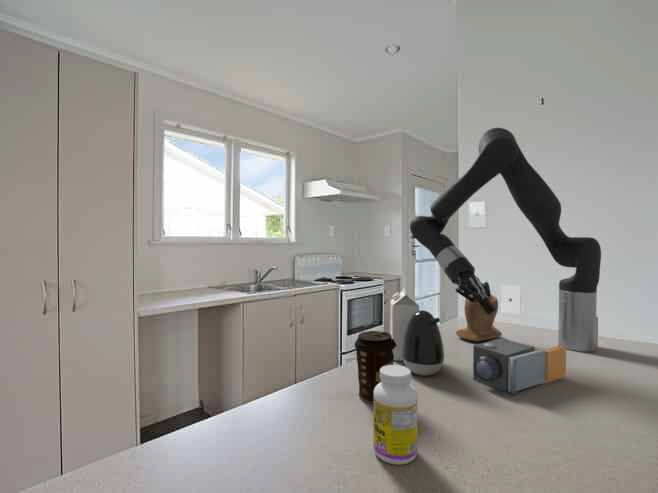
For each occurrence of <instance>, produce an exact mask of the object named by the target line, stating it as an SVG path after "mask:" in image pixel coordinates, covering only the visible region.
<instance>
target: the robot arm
mask: <svg viewBox="0 0 658 493" xmlns="http://www.w3.org/2000/svg"><path fill="white" fill-rule="evenodd" d="M499 174H500V176H502V178H503V181H504V182H505V184H506V187H507V189H508V190H509V192H510V195H511V197H512V198H513V201H514V202H515V204H516V206H517V207H518V208H519V210H520V211H521V213H522V214H523V215H524V216H525V218H526V219H527V220H528V221H529V223H530V224H531V225H532V226H533V228H534V229H535V231H536V232H537V234H538V235H539V236H540V239H541V240H542V241H543V243H544V245H545V247H546V248H547V250H548V252H549V254H550V255H551V257H552V258H553V260H554V261H555V262H556V263H557V264H558V265H560V266H561V267H564V268H573V269H574V268H575V273H574V275H572V276H570V277H568V278H564V279H561V280H559V283H558V333H557V334H558V335H557V338H558V340H557V341H558V342H557V344H558V346H562V347H566V350H569V351H570V350H572V351H575V352H583V353H584V352H587V353H590V352H591V353H592V352H595V351H596V349H597V350H598V348H599V347H598V346H599V344H598V343H599V342H598V341H599V317H598V316H597V296H598V295H597V292H598V285H599V282H600V275H601V274H600V272H601V261H602V249H601V245H600V242H599V241H598V240H597V239H596V238H594V237H589V236H587V237H585V236H582V237H581V236H577V237H571V236H568V235H567V234H566V233H565V232H564V231H563V229H562V228H561V226H560V219H561V217H562V216H561V215H562V204H561V202H560V200H559V198H558V197H557V195H556V194H555V192H553V190H552V188H551V187H550V186H549V185H548V184H547V183H546V182H547V181H545V180H544V179H543V178H542V176H541V175H540V174H539V173H538V171H537V170H536V169H534V167H532V165H531V164H530V163H529V162H528V160H527V159H526V156H525V155H524V153H523V151H522V150H521V148H520V146H519V144H518V142H517V140H516V137H515V136H514V134H513V133H512V132H511V131H509V130H508V129H506V128H502V127H493V128H490V129H488V130H486V131H485V132H484V133H483V134H482V136H481V137H480V140H479V143H478V156H477V158H476V160H474V161H473V164H472V165H471V166H470V168H469V169H468V170H467V171H466V172H465V173H464V174H462V176H461V177H460V178H458V179H456V180H455V181H453V183H450V185H448V186H447V187H446V188H445V189H444V190H443V191H442V192H441V193H440V194H439V195H438V197H437V198H435V200H434V201H433V202H432V203H431V205H430V212H431V215H430V216H426V215H418V216H415V217H413V218H412V219H411V220H410V223H409V231H410V233H411V235H412V236H413V238H414V239H416V240H417V241H418V243H420V244H421V245H422V246H424V247H425V248H426V249H427V250H429V252H430V253H431V255H432V257H434V259H435V260H436V261H437V263H438V266H439V267H440V268H441V270H442V271H443V272H444V274H445V275H446V276H447V277H448V279H449V280H450V281H451V283H452V284H454V285H457V287H456V288H455V292H456V293H458V294H459V295H460V296H462V297H464V298H465V300H466V299H468V300H469V301H471V302H472V303H474V302H476V303H477V304H480V305H481V307H482V308H483V309H484V311H485V312H486V313H487V314H488V315H489V314H493V313H494V312H495V311H496V308H495V307H494V306H493V305H492V303H491V302H490V301H489V299H488V298H489V297H490V296H491V295H492V293H491V288H490V284H489V282H487V281H485V282H482V281H481V280H480V278H479V277H477V276H476V274H475V271H476V268H475V267H474V266H473V265H472V263H471V262H470V260H469V259H468V258H467V257H466V256H465V254H464V253H463V252H462V251H461V250H460V249H459V248H458V247H457V246H456V244H455V243H454V242H453V241H452V240H451V239H450V238H449V237H448V236H447V235H446V234H443V233H442V232H443V231H444V229H445V227H446V225H447V224H448V222H449V220H450V218H451V217H452V216H453V215H454V214H455V213H456V212H457V211H458V210H459V209H460V208H462V206H463V205H464V204H465V203H466V202H467V201H469V199H470V198H471V197H473V195H474V194H476V193H477V192H478V191H479V190H480V189H482V188H483V187H484V186H485V185H487V183H489V182H490V181H492V179H495V178H496V177H497V176H498V175H499Z"/></svg>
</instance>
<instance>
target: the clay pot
mask: <svg viewBox="0 0 658 493" xmlns="http://www.w3.org/2000/svg"><path fill="white" fill-rule="evenodd" d="M488 299H489V301H490V302H491V303H492V305H493V306H494V307H495V308H496V311H495V312H494V313H493V314H489V315H488V314H487V313H486V312H485V311H484V309H483V308H482V307H481V305H480V304H477V303H476V302H474V303H472V302H471V301H469V300H468V299H466V298H465V300H464V310H463V311H464V316H465V319H466V327H465V328H462V329H459V330H456V331H455V335H456V336H457V337H459V338H461V339H464V340H468V341H471V342H481V341H482V342H483V341H487V340H491V339H496V338H498V337H502V336H503V333H502V331H500V330H499V329H498V328H497V327H495V326H494V322H495V319H496V316H497V313H498V311H499V300H498V298H497V297H496V296H494V295H492V294H491V296H490V297H489V298H488Z"/></svg>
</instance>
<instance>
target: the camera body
mask: <svg viewBox="0 0 658 493" xmlns="http://www.w3.org/2000/svg"><path fill="white" fill-rule="evenodd" d="M533 351H535V346H533V345H529V344H526V343H521V342H518V341H514V340H510V339H505V338H502V337H500V338H497V339H496V338H495V339H493V340H489V341H486V342H482V343H481V342H480V343H478V344H473V355H472V356H473V357H472V360H473V361H472V367H473V368H472V370H473V373H472V379H473V381H476V382H478V383H481V384H483V385H486V386H489V387H491V388H494V389H497V390H499V391H502V392H505V393H508V392H509V391H508V357H513V356H517V355H521V354H525V353H529V352H533Z"/></svg>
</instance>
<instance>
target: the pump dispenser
mask: <svg viewBox="0 0 658 493" xmlns="http://www.w3.org/2000/svg"><path fill="white" fill-rule="evenodd" d="M440 321H441V320H440V318H439V317H434V316H433V314H432V313H431V312H429V311H427V310H419V311H417V312H416V313H414V314H413V316H412V317H411V319H410V321H409V323H408V326H407V328H406V331H405V335H404V339H403V345H402V358H403V361H402V362H403V364H404V367H406V368H408V369H409V370H410V371H411V374H412V373H413V374H415V375H418V376H422V377H424V376H426V377H427V376H432V375H434V374H436V373H438V372H439V371H440V369H441V368H442V366H443V363H444V361H445V349H444V343H443V338H442V335H441V331H440V327H439V325H438V323H439V322H440Z"/></svg>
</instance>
